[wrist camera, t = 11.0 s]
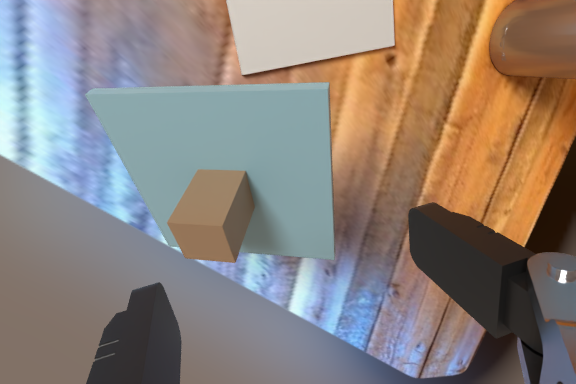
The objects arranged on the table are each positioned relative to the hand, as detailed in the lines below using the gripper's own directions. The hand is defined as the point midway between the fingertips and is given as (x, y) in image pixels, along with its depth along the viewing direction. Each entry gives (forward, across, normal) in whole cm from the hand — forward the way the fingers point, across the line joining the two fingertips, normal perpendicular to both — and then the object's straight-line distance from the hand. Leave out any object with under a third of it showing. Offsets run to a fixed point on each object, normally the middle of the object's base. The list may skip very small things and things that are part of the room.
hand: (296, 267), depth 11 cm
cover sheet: (+15, +1, +2) cm, 15 cm away
